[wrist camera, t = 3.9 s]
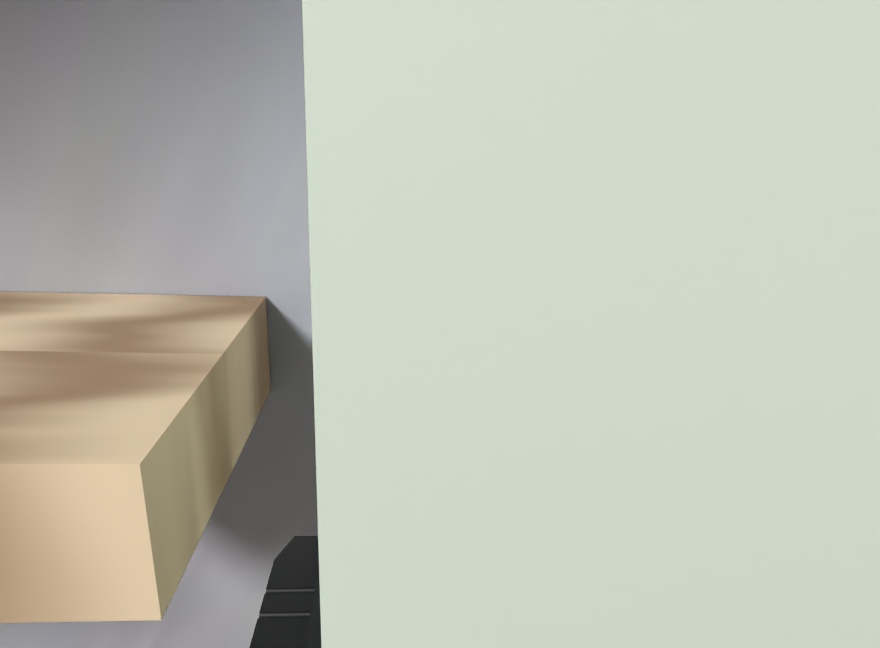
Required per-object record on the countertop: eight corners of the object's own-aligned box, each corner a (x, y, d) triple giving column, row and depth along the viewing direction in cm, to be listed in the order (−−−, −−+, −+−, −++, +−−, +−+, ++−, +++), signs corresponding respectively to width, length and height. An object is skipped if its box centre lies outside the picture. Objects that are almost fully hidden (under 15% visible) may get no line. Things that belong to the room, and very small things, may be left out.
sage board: (501, 67, 16) (1323, -342, 2) (468, 560, 21) (608, 1464, 7) (388, 62, 16) (288, -457, 2) (382, 561, 21) (347, 1496, 7)
